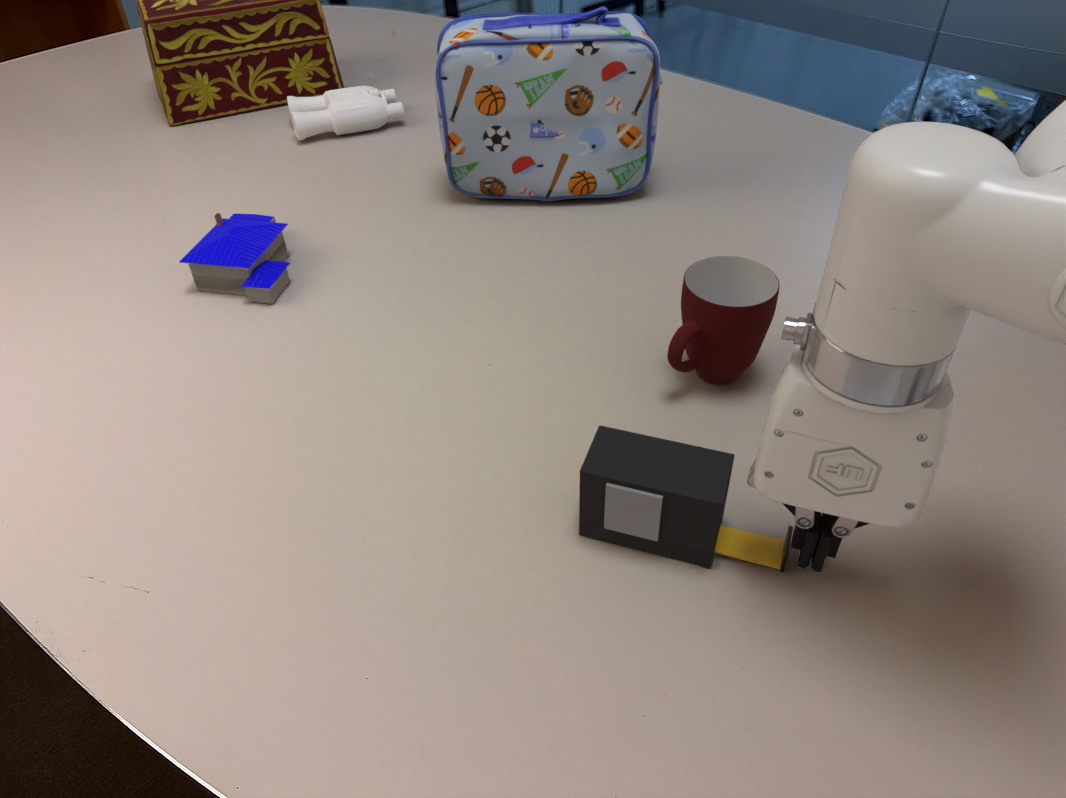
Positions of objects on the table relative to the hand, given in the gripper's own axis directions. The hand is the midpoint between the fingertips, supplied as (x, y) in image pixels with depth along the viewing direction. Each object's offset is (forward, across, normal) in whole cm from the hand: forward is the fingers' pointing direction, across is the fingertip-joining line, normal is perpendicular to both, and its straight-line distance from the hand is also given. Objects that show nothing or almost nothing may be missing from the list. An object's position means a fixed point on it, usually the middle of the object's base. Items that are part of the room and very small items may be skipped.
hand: (810, 554), depth 58 cm
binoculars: (+2, -73, +62) cm, 95 cm away
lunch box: (+2, -36, +51) cm, 63 cm away
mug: (+2, -10, +19) cm, 22 cm away
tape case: (+1, -12, 0) cm, 12 cm away
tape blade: (+1, -7, 0) cm, 7 cm away
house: (+2, -64, +22) cm, 67 cm away
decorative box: (+2, -96, +70) cm, 118 cm away
